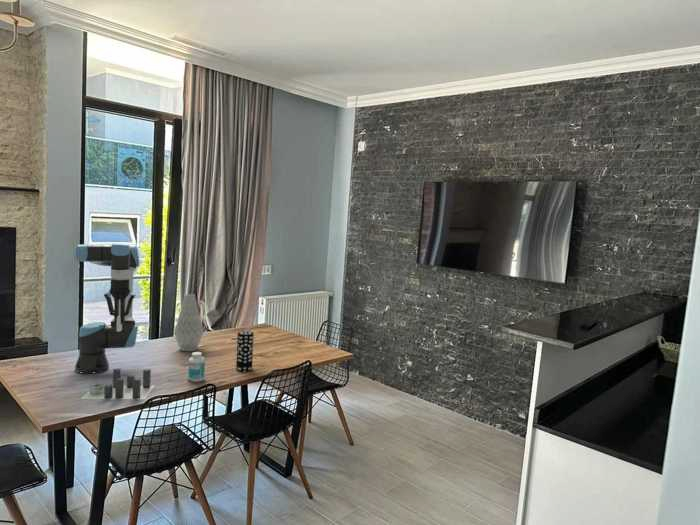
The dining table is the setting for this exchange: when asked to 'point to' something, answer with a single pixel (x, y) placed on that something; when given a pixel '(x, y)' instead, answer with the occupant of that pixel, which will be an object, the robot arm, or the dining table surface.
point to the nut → (96, 388)
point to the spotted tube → (244, 351)
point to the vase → (188, 325)
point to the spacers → (131, 383)
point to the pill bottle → (196, 367)
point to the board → (126, 394)
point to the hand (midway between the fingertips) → (119, 330)
